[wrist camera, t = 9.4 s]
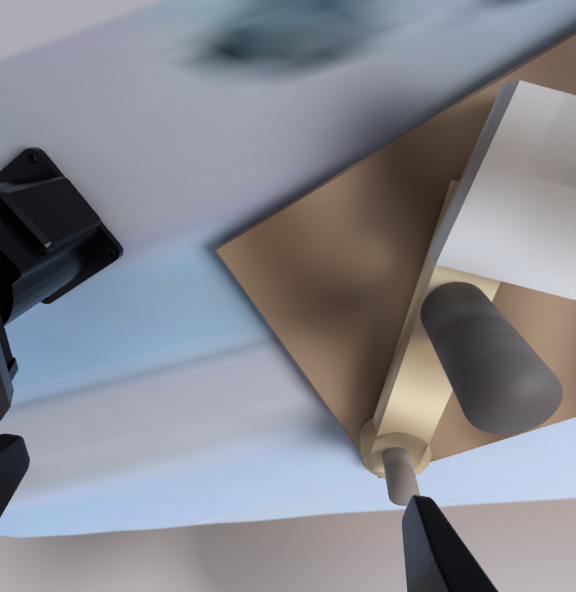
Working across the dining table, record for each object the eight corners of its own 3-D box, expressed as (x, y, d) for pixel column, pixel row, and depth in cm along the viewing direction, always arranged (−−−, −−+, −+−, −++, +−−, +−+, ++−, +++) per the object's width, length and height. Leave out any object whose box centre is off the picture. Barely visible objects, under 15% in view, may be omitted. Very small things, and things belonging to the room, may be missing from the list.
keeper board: (377, 465, 26) (387, 534, 22) (217, 240, 20) (188, 276, 15) (692, 363, 21) (788, 430, 16) (616, -4, 14) (745, -53, 10)
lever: (414, 463, 24) (449, 599, 17) (353, 453, 24) (364, 584, 17) (531, 192, 16) (678, 251, 9) (440, 178, 16) (521, 226, 9)
